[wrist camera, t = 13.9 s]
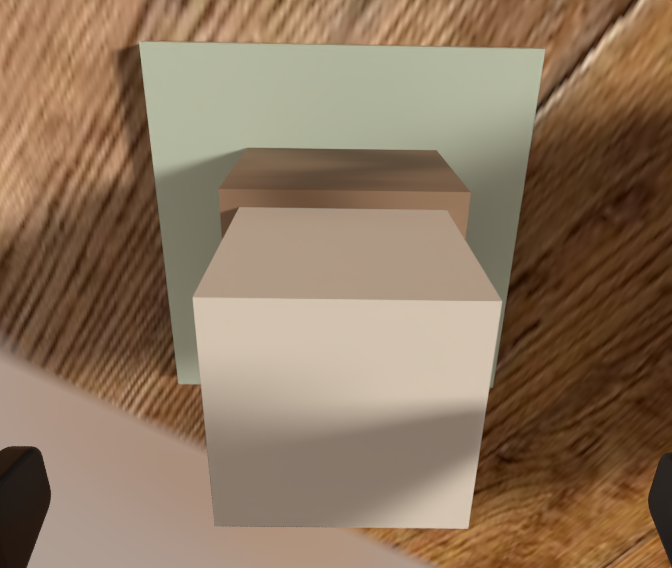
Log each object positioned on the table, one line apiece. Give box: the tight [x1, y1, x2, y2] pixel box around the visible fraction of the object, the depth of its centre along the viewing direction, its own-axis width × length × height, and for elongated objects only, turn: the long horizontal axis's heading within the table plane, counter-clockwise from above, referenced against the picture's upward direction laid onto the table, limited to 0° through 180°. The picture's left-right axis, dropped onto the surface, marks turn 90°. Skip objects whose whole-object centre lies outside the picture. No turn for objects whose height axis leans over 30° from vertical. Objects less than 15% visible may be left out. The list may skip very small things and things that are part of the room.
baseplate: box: [139, 41, 545, 388], centre depth 20 cm, size 12×12×1 cm
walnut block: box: [218, 148, 471, 239], centre depth 17 cm, size 6×6×5 cm
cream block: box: [192, 207, 502, 529], centre depth 13 cm, size 5×5×5 cm
